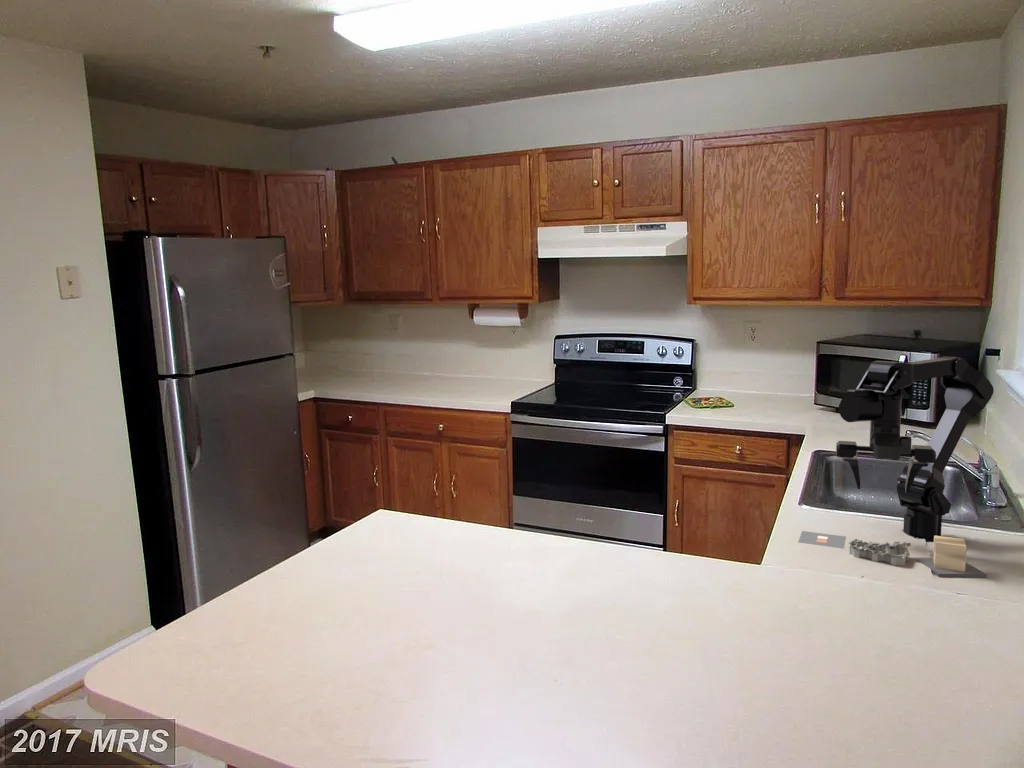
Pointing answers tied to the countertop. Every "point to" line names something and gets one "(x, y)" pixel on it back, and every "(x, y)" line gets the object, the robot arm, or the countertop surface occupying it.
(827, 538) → the tile
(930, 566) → the charcoal mat
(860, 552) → the egg carton
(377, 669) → the countertop surface
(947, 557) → the maple block
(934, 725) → the countertop surface
